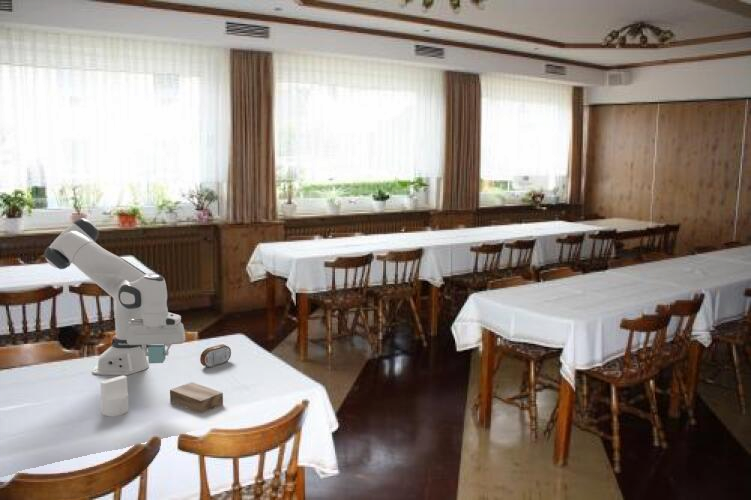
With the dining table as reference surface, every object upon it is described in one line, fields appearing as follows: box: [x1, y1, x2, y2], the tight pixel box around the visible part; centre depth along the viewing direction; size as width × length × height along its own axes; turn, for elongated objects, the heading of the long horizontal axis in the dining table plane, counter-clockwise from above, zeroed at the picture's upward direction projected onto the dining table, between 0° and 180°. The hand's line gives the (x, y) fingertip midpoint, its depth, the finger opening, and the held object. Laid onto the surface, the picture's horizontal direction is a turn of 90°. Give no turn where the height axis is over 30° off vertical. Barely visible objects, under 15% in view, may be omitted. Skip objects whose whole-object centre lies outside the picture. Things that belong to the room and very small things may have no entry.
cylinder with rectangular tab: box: [99, 375, 130, 417], centre depth 227 cm, size 9×9×12 cm
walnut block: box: [169, 381, 224, 414], centre depth 235 cm, size 10×18×5 cm, turn 54°
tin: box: [199, 344, 232, 368], centre depth 277 cm, size 15×3×8 cm, turn 141°
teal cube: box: [147, 344, 166, 364], centre depth 230 cm, size 5×5×6 cm
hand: (157, 355), depth 230 cm, fingers closed on teal cube, 5 cm apart
